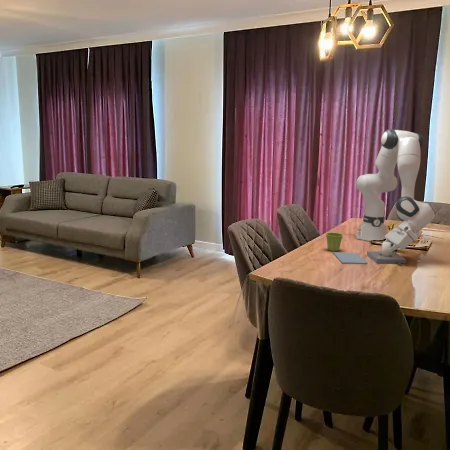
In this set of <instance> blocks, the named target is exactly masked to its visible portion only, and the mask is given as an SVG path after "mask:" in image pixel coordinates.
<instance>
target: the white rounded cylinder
mask: <svg viewBox="0 0 450 450" xmlns="http://www.w3.org/2000/svg"><path fill="white" fill-rule="evenodd" d="M382 244H383V246H382V247H381V252H382V257H391V256H390V253H389V252H388V251H387V250H388V249H389V248H391V247H392V243H391V242H384V241H382Z"/></svg>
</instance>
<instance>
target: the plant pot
mask: <svg viewBox="0 0 450 450" xmlns="http://www.w3.org/2000/svg"><path fill="white" fill-rule="evenodd" d="M325 236H326V244H327V245H326V246H327V251H329V252H337V251H340V249H341V248H340V247H341V242H342V239H343V237H344V234H343V233H339V232H334V231H333V232H326V233H325Z"/></svg>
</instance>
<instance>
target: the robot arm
mask: <svg viewBox="0 0 450 450" xmlns="http://www.w3.org/2000/svg"><path fill="white" fill-rule="evenodd" d="M380 144H381V145H382V146H381V148H380V150H379V152H378V154H377V157H376V159H375V161H374V162H375V163H374V164H375V167H376V168H377V169H378V172H377V173H366V174H362V175H359V176H358V177H357V179H356V182H355V184H356V189H357V190H358V191H359V192H360V193H361V194H362V196H363V200H364V215H363V216H362V217H363V219H362V223H360V225H359V226H357V228H356V231H358V232H355V234H354V235H355V238H356V240H363V241H368V242H372V241H371V240H383V239H386V240H385V241H383V242H391V248H389V249H388V250H387V251H388V252H389V253H391V252H395V251H396V250H397V249H400V250H404V249H406V248H408V246H409V245H410V244H412V243H413V242H414V241H417V240H418V237H419V236H417V234H418V233H420V231H421V230H422V229H424V228H426V226H428V225H429V224H430V223H431V222H432V220H434V218H435V216H436V212H435V210H434V208H433V207H432V206H431V205H430V203H427V202H422V201H419V200H416V199H415V189H416V188H415V187H416V181H417V178H418V174H419V170H420V165H421V154H422V153H421V150H422V149H423V147H424V145H425V139H424V136H423V135H422V134H419V133H416V132H411V131H408V130H400V129H394V128H392V129H386V130H385V131H384V132H383V133H382V135H381V139H380ZM396 165H397V170H398V171H397V172H398V175H399V179H400V184H401V192H400V193H401V196H400V198H398V199H397V201H396V203H395V210H396V216H397V219H398V220H399V221H400V222H401V223H400V224H398V226H397V227H394V228H393V229H391V230H390V231H389V232H387V225H386V224H385V220H386V219H385V218H386V217H385V208H386V203H385V202H384V200H382V199H381V197H380V196H379V193H381V194H382V193H388V192H392V191H395V190H396V188H397V186H398V179H397V177H396V176H395V168H396ZM380 246H381V248H382V246H383V243H382V244H381V245H380Z"/></svg>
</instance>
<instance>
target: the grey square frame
mask: <svg viewBox="0 0 450 450" xmlns="http://www.w3.org/2000/svg"><path fill="white" fill-rule="evenodd" d="M367 255H368V257H369V258H370V259H371V260H372V259H373V260H374V261H373V260H372V261H373V262H375V263H376V264H396V263H397V264H396V265H398V264H399V265H398V266H399V267H403V264H401V263H407V259H406V258H404V257H403V256H401V254H398V253H397V252H395V251H392V252H391V253H390V256H391V257H382V251H380V250H379V251H372V250H369V251H366V256H367Z"/></svg>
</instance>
